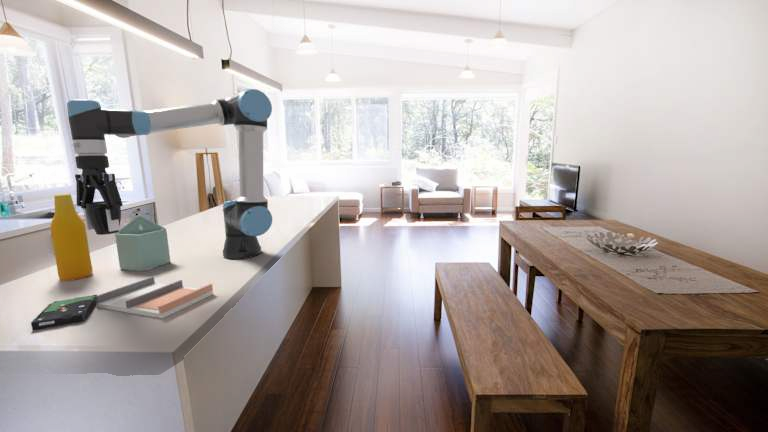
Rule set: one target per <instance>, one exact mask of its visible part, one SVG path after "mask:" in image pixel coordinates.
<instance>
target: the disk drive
mask: <svg viewBox="0 0 768 432" xmlns="http://www.w3.org/2000/svg"><path fill="white" fill-rule="evenodd" d="M95 296H98V294H93V295H87V296H80V297H74V298H70V299H69V298H68V299H65V300H64V299H63V300H55V301H53V302H51V303H49V304H48V305H47V306H46V307H45V308H44V309H43V310H41V312H40V313H39V314H37V316H36V317H35V318H34V319H33V320H32V321H31V322H30V325H31V330H32V331H34V330H35V331H39V330H44V329H51V328H55V327H62V326H67V325H73V324H74V325H75V324H78V323H84V322H86V320H87V319H88V317H90V314H91V313H92V311H93V310H94V308H96V307H97V304H96V298H95Z"/></svg>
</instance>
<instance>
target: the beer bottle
mask: <svg viewBox="0 0 768 432" xmlns="http://www.w3.org/2000/svg"><path fill="white" fill-rule="evenodd" d="M53 199H54V215H53V218H52V220H51V222H50V236H51V241H52V246H53V251H54V252H53V253H54V257H55V262H56V268H57V276H58V279H60V281H66V282H67V281H75V280H81V279H84V278H87V276H88V277H90V276H91V275H93V265H92V260H91V253H90V247H89V242H88V235H87V234H88V233H87V228H86V223H85V220H83V218H82V217H81V216H80V215H79V213H78V212H77V209H76V207H75V204H74V200H73V197H72V194H70V193H67V194H64V193H62V194H55V195H54V198H53Z"/></svg>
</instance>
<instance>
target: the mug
mask: <svg viewBox="0 0 768 432" xmlns="http://www.w3.org/2000/svg"><path fill="white" fill-rule="evenodd" d="M117 203H118V202H117ZM121 207H122V206H121ZM121 207H119V208H118V209H117V210H118V217H119V219H118V220H119V227H120V228H121V226H120V225H121V220H122V209H121ZM86 208H87V214H88V217H89V220H90V222H91V225H92V226H93V228H94V229H93V230H94V232H95V234H96V235H99V236H100V235H101V236H103V235H111V234H115V233H117V232H119V230H116V231H111V232H109V228H108V222H107V215H106V208H107V206H106V204H105V202H104V200H98V201H93V202H91V203H87V204H86Z"/></svg>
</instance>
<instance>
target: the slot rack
mask: <svg viewBox="0 0 768 432" xmlns="http://www.w3.org/2000/svg"><path fill="white" fill-rule="evenodd" d="M183 285H184V284H183V280H181V279H180V280H177V281H174V282H172V283H169V284H166V283H159V282H155V276H150V277H147V278H144V279H141V280H138V281H135V282H133V283H130V284H126V285H124V286H121V287H118V288H114V289H112V290H109V291H107V292H104V293H101V294H97V296H95V298H96V304H97V305H96V308H100V309H105V310H110V311H116V312H123V313H127V314H128V313H129V314H134V315H140V316H145V317H152V318H157V319H164V318H167V317H169V316H170V315H171V316H172V315H173V314H175V313H177V312H179V311H181V310H183V309H185V308H187V307H189V306H192V305H194V304H195V303H198V302H200V301H203V300H204V299H206V298H208V297H210V296H213V295H214V290H213V289H214V288H213V283H209V284H207V285H204V286H202V287H200V288H197V287H191V286H190V287H188V286H183Z"/></svg>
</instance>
